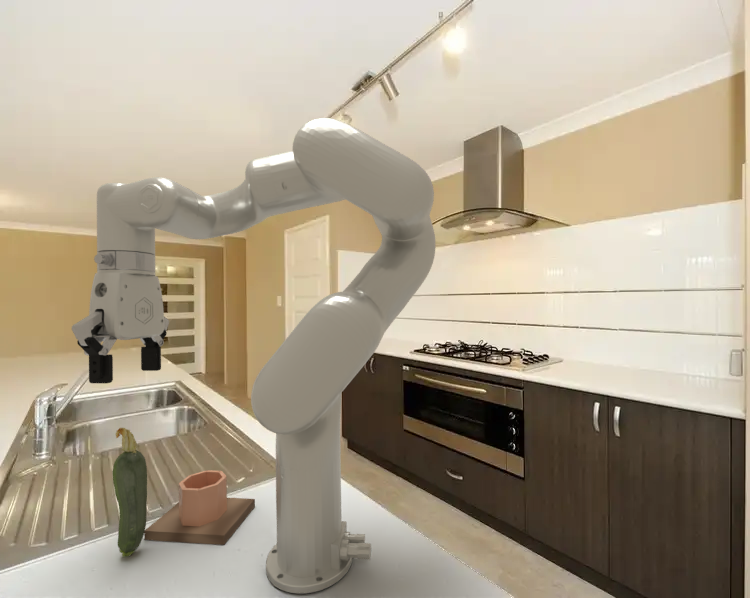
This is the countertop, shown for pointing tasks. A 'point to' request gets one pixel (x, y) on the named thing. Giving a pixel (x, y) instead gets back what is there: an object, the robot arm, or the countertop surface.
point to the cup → (202, 498)
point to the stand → (205, 534)
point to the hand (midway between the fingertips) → (128, 376)
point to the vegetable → (130, 493)
